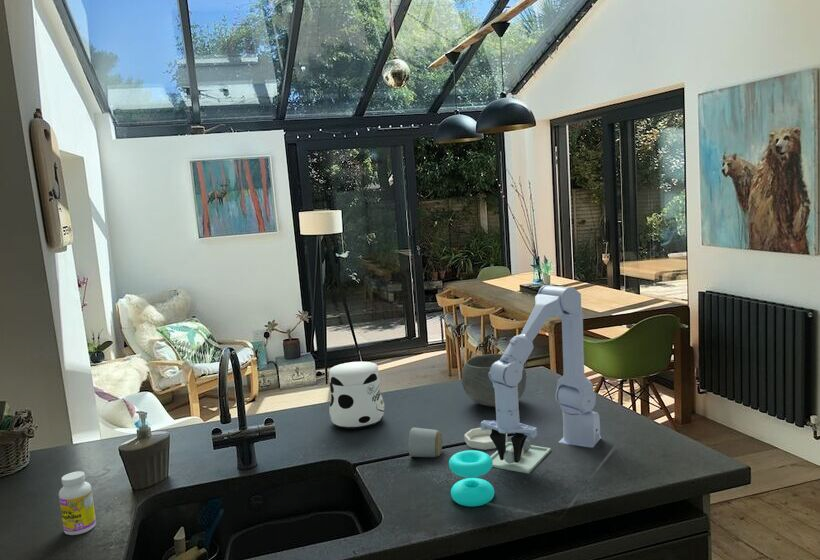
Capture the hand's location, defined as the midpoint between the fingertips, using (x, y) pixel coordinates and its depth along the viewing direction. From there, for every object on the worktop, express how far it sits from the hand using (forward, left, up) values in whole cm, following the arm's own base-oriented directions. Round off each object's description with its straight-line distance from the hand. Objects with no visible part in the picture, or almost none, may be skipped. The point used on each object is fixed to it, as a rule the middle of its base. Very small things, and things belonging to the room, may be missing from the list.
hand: (510, 459), depth 162 cm
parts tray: (0, -4, -2) cm, 5 cm away
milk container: (+57, -11, -2) cm, 58 cm away
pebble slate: (0, -9, -1) cm, 9 cm away
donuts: (+1, +19, -2) cm, 19 cm away
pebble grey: (0, 0, -1) cm, 1 cm away
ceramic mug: (+24, +1, -2) cm, 24 cm away
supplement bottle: (+76, +69, -2) cm, 103 cm away
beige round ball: (0, -5, -1) cm, 5 cm away
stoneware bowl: (+13, -12, -2) cm, 17 cm away
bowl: (+24, -42, -2) cm, 48 cm away
